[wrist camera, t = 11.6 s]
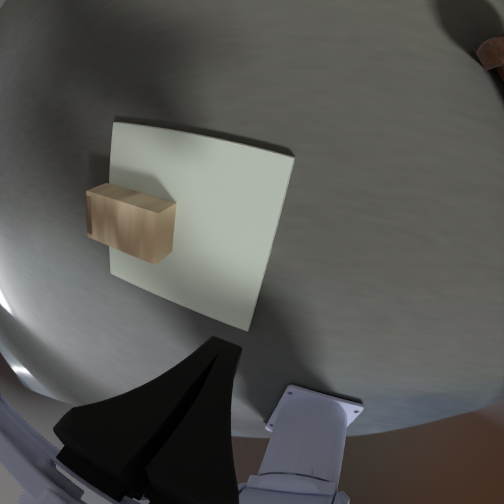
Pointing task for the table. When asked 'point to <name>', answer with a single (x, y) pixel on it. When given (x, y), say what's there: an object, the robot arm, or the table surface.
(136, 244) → the slab
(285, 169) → the board
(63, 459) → the robot arm
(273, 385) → the table surface
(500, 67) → the bolt
